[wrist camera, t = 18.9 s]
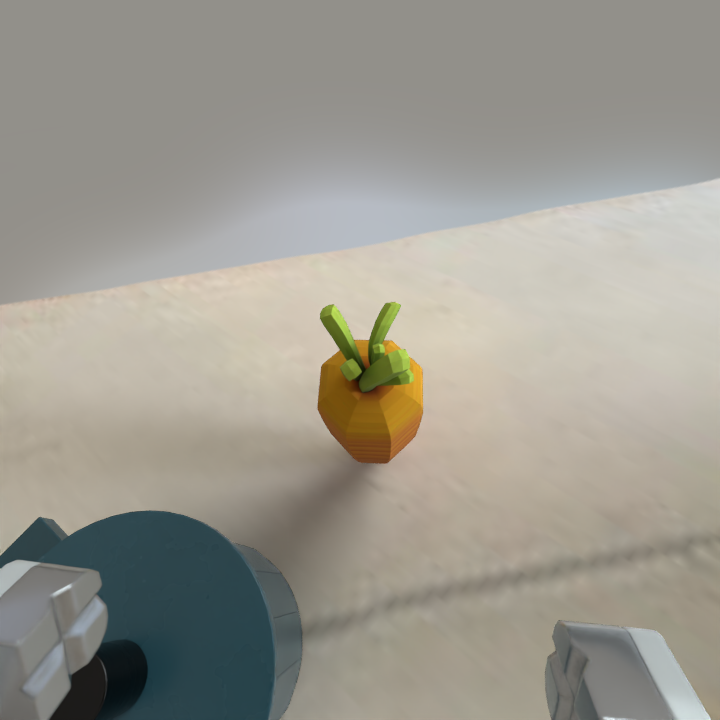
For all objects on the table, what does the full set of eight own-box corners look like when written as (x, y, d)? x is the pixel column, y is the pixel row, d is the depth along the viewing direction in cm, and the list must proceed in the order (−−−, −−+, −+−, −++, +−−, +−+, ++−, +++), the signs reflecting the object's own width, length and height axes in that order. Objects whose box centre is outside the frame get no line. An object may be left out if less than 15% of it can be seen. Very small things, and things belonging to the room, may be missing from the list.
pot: (177, 477, 29) (103, 439, 22) (382, 662, 24) (380, 698, 17) (36, 633, 26) (-113, 653, 18) (241, 887, 21) (156, 1063, 13)
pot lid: (147, 461, 22) (100, 437, 18) (342, 640, 18) (331, 653, 14) (-83, 704, 18) (-198, 732, 14) (106, 993, 14) (14, 1127, 11)
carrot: (327, 427, 30) (277, 301, 17) (398, 402, 31) (405, 259, 17) (352, 500, 28) (318, 424, 14) (427, 472, 28) (462, 373, 15)
